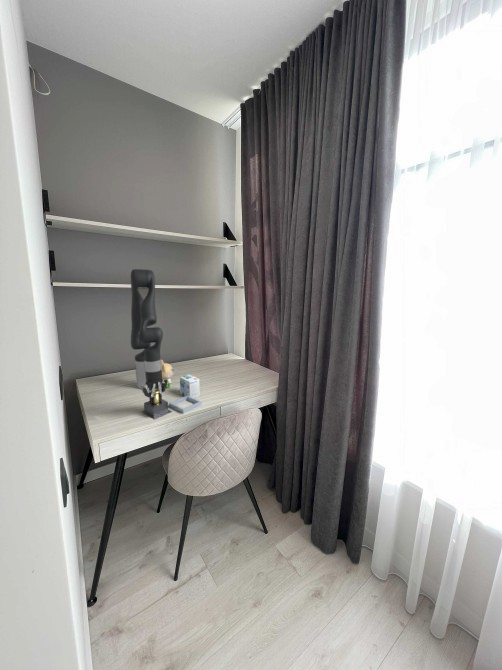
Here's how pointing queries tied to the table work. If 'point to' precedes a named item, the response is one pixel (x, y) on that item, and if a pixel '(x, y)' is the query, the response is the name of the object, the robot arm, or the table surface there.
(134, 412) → the table surface
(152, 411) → the block
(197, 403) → the tray
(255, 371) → the table surface
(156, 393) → the pin
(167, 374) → the kitten
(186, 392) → the light bulb box
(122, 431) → the table surface
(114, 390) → the table surface
